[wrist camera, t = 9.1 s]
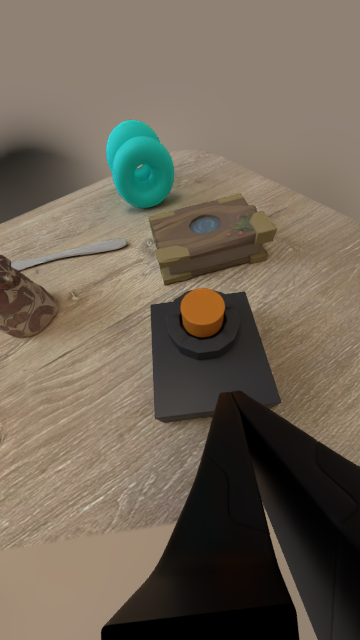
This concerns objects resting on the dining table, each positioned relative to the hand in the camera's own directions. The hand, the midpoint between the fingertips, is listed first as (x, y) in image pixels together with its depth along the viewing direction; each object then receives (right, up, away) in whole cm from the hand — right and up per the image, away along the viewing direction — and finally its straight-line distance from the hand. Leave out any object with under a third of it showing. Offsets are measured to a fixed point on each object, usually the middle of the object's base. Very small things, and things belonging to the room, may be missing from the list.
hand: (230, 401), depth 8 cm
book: (+2, +14, +24) cm, 28 cm away
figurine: (-22, +4, +20) cm, 30 cm away
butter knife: (-24, +13, +25) cm, 37 cm away
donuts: (-8, +27, +32) cm, 43 cm away
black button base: (+1, -1, +15) cm, 15 cm away
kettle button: (0, +3, +11) cm, 11 cm away
